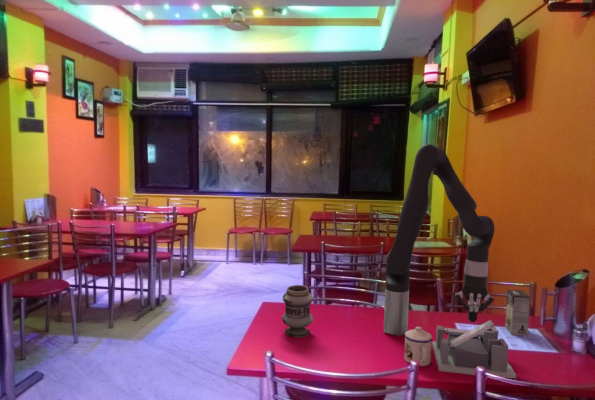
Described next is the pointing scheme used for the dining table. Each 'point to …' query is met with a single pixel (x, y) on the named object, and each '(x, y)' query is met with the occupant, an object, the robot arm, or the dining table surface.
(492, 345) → the base
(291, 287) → the apothecary jar
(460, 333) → the grey hinged latch bar
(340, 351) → the dining table surface
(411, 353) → the teacup with lid
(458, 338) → the strap
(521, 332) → the coffee box
